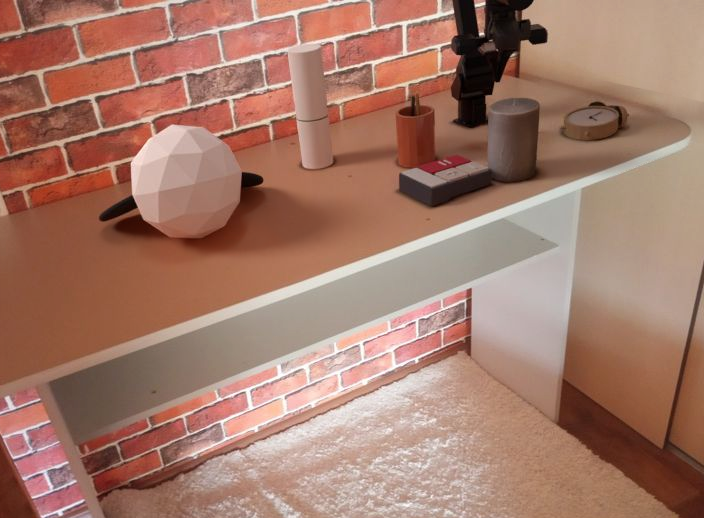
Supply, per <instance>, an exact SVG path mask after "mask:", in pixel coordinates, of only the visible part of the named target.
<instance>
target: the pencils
mask: <svg viewBox="0 0 704 518" xmlns="http://www.w3.org/2000/svg"><path fill="white" fill-rule="evenodd" d="M410 98H411V99H410V100H411V101H410V106H411V112H410V116H414V109H415V105H416V110H417V116H420V115H421V111H420V105H421V103H420V94H419V92H418V91H415V92H414V94H413V95H411V97H410Z"/></svg>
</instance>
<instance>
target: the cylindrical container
mask: <svg viewBox="0 0 704 518" xmlns="http://www.w3.org/2000/svg"><path fill="white" fill-rule="evenodd" d="M286 51H287V60H288V68H289V74H290V81H291V91H292V97H293V102H294V103H293V104H294V112H295V120H296V126H297V127H296V128H297V134H298V141H299V150H300V156H301V157H300V158H301V165H302V167H303V168H304V169H307V170H320V169H324V168H328V167H329V166H331V165H332V164H333V163H334V153H333V146H332V145H333V144H332V135H331V125H330V117H329V116H330V115H329V108H328V97H327V89H326V79H325V71H324V69H325V68H324V60H323V50H322V45H321V44H319V43H303V44H297V45H293V46H291V47H288V48H287V50H286Z"/></svg>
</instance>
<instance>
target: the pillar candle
mask: <svg viewBox="0 0 704 518" xmlns="http://www.w3.org/2000/svg"><path fill="white" fill-rule="evenodd" d="M487 109H488V112H487V113H488V116H487V118H488V123H487V125H488V126H487V158H486V159H487V164H486V166H487V167H489V169H490V170H492V178H491V179H493V180H495V181H498V182H504V183H512V182H520V181H524V180H527V179H530V178H533V177H534V176H535V175H536V173H537V170H536V168H537V167H536V166H537V160H538V140H539V129H540V112H541V111H540V109H541V104H540V102H539V101H537V99H533V98H529V97H508V98H501V99H499V100H496V101H493V102H492V103H490V104H489V105H488V107H487Z"/></svg>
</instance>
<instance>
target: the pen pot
mask: <svg viewBox="0 0 704 518" xmlns="http://www.w3.org/2000/svg"><path fill="white" fill-rule="evenodd" d="M420 111H421V115H420V116H417V110H416V104H415V109H414V116H410V112H411V105H407V106H402V107H400V108H399V109H397V110H395V128H396V130H395V131H396V149H397V162H398V164H399V165H400V167H404V168H408V169H409V168H410V169H413V168H419V166H420V165H424V164H427V163H431V162H434V161H436V120H435V108H434V107H433V106H431V105H428V104H420Z"/></svg>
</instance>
